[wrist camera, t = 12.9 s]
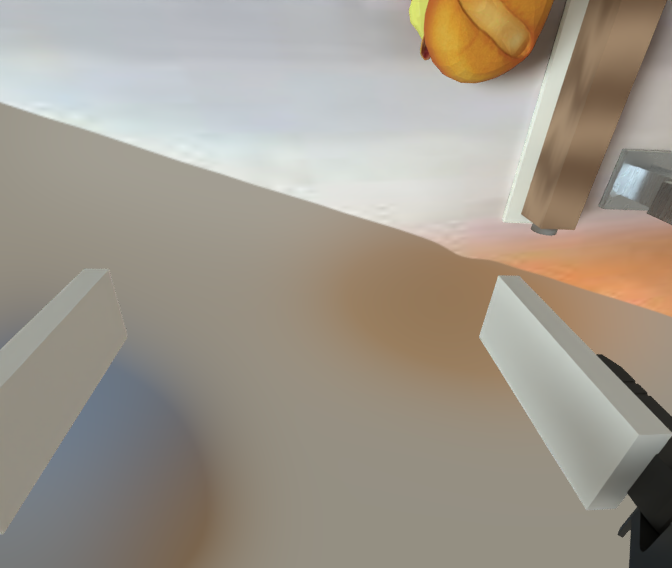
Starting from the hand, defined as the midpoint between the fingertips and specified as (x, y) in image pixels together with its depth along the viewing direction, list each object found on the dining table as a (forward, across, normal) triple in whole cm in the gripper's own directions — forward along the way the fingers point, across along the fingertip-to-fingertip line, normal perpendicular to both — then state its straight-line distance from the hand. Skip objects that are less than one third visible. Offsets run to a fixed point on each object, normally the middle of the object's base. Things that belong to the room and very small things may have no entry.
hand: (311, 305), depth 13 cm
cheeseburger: (+27, +13, +12) cm, 32 cm away
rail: (+26, +24, +6) cm, 36 cm away
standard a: (+27, +35, -2) cm, 44 cm away
